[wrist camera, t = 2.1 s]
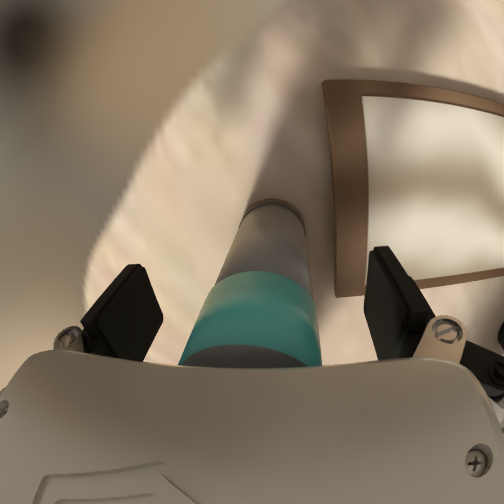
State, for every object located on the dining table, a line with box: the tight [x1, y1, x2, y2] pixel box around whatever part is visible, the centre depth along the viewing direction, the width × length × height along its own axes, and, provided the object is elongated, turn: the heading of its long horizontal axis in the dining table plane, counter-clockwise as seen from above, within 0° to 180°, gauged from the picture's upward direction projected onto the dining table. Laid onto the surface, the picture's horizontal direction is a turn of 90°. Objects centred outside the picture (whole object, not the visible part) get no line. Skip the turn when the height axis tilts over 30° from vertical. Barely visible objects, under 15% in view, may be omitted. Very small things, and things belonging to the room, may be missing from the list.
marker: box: [178, 199, 322, 368], centre depth 12 cm, size 4×4×12 cm
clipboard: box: [322, 80, 504, 298], centre depth 13 cm, size 14×24×2 cm, turn 98°
